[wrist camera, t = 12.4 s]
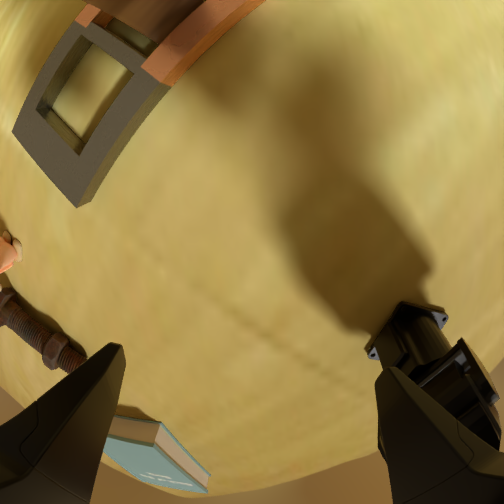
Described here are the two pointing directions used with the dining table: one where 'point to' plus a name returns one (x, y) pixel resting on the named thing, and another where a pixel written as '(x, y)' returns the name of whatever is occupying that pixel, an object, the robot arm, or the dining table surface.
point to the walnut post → (149, 14)
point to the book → (154, 455)
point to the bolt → (38, 335)
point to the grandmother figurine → (9, 252)
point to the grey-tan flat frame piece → (127, 102)
